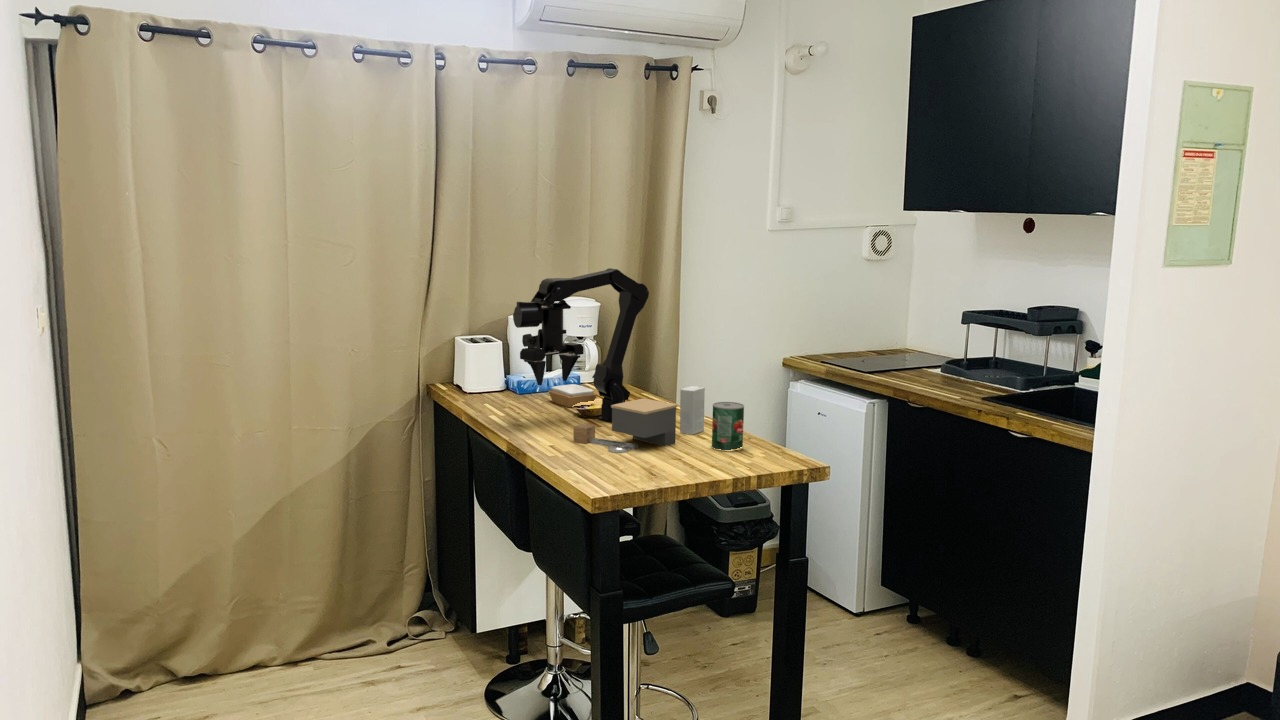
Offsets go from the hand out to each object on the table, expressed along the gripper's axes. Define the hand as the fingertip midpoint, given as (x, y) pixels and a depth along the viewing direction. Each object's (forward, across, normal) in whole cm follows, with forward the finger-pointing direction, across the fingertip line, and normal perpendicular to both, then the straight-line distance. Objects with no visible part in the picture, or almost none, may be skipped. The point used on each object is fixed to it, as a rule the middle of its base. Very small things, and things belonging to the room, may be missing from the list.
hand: (552, 383), depth 266 cm
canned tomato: (+12, -15, +48) cm, 52 cm away
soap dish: (+12, -25, -18) cm, 33 cm away
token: (+12, +6, +30) cm, 33 cm away
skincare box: (+12, -22, +31) cm, 40 cm away
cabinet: (+12, -3, +30) cm, 33 cm away
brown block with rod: (+12, +4, +24) cm, 27 cm away
